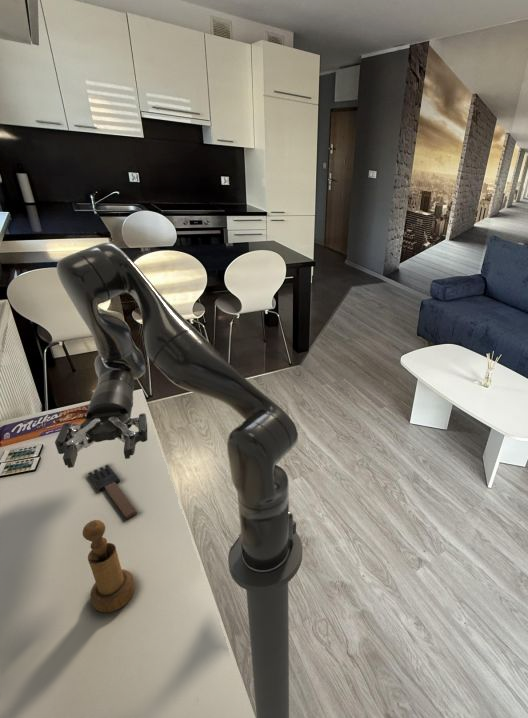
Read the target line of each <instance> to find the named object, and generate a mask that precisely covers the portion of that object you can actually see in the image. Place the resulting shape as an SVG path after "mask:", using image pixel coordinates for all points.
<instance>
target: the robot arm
mask: <svg viewBox="0 0 528 718" xmlns="http://www.w3.org/2000/svg"><path fill="white" fill-rule="evenodd" d="M56 272H57V276H58V278H59V281H60V284H61V285H62V287H63V289H64V291H65V293H66V294H67V296H68V297H69V299H70V301H71V303H72V304H73V306H74V307H75V309H76V311H77V312H78V314H79V316H80V318H81V319H82V320H83V322H84V323H85V325H86V326H87V328H88V329H89V332H90V333H91V336H92V338H93V341H94V344H95V347H96V350H97V353H98V354H97V355H96V357H95V359H94V371H95V375H96V377H97V384H96V387H95V390H94V392H93V393H92V396H91V397H90V401H89V405H88V408H87V411H86V415H85V418H84V421H83V422H81V424H77V425H72V422H70V421H69V422H68V421H67V422H65V423H63V425H62V427H61V429H60V431H59V433H58V435H57V437H56V439H55V441H54V444H55V447H56V450H57V454H59V455H63V456H62V460H63V463H64V466H67V468H68V469H71V468H74V467H75V463H76V461H77V457H78V454H79V452H80V451H82V450H83V449H87V448H89V447H90V446H92V445H93V444H94V443H101V442H105V441H115V440H116V439H118V440H119V441H121V442H122V443H124V445H123V454H124V459H125V460H127V459H128V460H129V459H131V456H134V454H135V451H136V445H137V443H139V442H141V443H145V442H147V441H148V440H149V439H148V420H147V415H146V413H143V412H142V413H139V414H138V417H134V418H131V417H132V409H133V407H134V390H135V380H137V379H139V378H141V377H143V375H144V374H145V373H146V370H147V363H146V357H144V355H143V353H142V351H141V350H140V349H139V348H138V346H136V344H135V343H134V342H133V336H132V331H131V328H130V326H129V324H128V323H127V322H126V321H125V320H124V318H121V317H120V316H119V315H116V314H115V313H112V312H110V311H107V310H105V309H103V308H101V307H100V306H98V305H100V304H104V303H106V302H108V301H110V300H113V299H115V298H116V297H118V296H121V295H123V294H125V293H127V294H129V295H130V296H132V298H133V299H134V300H135V301H136V303H137V306H138V307H139V311H140V315H141V323H142V325H141V326H142V338H143V346H144V349H145V352H146V355H147V357H148V359H149V361H151V363H153V365H154V366H155V367H156V368H157V369H158V370H159V371H160V372H161V373H162V374H163V375H164V376H165V377H166V378H167V379H168V380H169V381H170V382H171V383H172V384H174V385H175V386H177V387H179V388H181V389H183V390H185V391H188V392H190V393H193V394H196V395H200V396H203V397H206V398H209V399H212V400H216V401H218V402H220V403H223V404H224V405H226V406H228V407H229V408H230V409H232V410H234V412H236V413H237V414H238V415H239V416H240V417H241V418H242V419H244V421H242V422H241V423H240V424H239V425H237V426H236V427H234V428H233V430H231V431H230V433H229V435H228V437H227V441H226V452H227V458H228V464H229V470H230V471H229V472H230V476H231V481H232V484H233V486H234V488H235V490H236V493H237V494H236V495H237V504H238V517H239V528H240V529H239V530H240V534H241V542H242V544H241V548H242V559H243V562H244V564H245V565H246V567H247V568H248V569H250V570H251V571H254V572H257V573H268V572H271V571H274V570H276V569H278V568H279V567H280V566H282V565H283V563H284V562H285V561H286V559H287V557H288V555H289V550H290V549H291V548H292V547H293V535H294V534H295V533H297V522H296V521H295V520H294V514H293V513H292V512H291V511H290V504H289V503H290V500H289V499H290V496H289V494H290V492H289V487H290V486H289V485H290V484H289V483H290V482H289V481H290V480H289V476H288V473H287V471H286V470H285V469H284V468H282V467H281V466H279V465H278V464H279V463H280V461H282V460H283V459H284V457H285V456H287V455H288V454H289V452H290V451H291V450H292V449H294V447H295V446H296V444H297V443H298V440H299V431H298V428H297V426H296V424H295V422H294V421H293V420H292V419H291V417H290V416H289V415H288V414H287V412H286V411H284V410H283V409H282V407H280V406H279V405H278V404H277V403H275V402H274V401H273V400H272V399H271V398H269V397H268V396H267V395H266V394H264V393H263V392H262V391H261V390H260V389H258V387H256V386H255V385H254V384H252V383H251V382H250V381H249V380H247V379H246V377H244V376H243V374H241V373H240V372H239V371H238V370H237V369H236V368H235V367H234V366H233V365H231V363H230V362H228V361H227V360H226V359H225V358H224V357H223V355H221V354H220V352H218V351H217V350H216V348H215V347H214V346H213V345H212V344H211V343H210V341H208V340H207V339H206V338H205V336H203V335H202V334H201V333H200V331H198V330H197V329H196V328H195V327H194V326H193V325H192V324H191V323H190V322H189V321H187V319H186V318H184V316H182V315H181V313H179V312H178V311H177V309H176V308H174V307H173V305H172V304H170V302H168V300H166V298H165V297H164V296H163V295H162V294H161V293H160V292H159V290H158V289H157V288H156V287H155V286H154V285H153V284H152V282H151V281H150V279H148V278H147V276H146V275H145V274H144V273H143V272H142V270H141V269H140V268H139V267H138V266H137V264H136V263H135V262H134V261H133V260H132V259H131V258H130V256H128V254H127V253H126V252H125V251H124V250H122V249H121V248H120V247H118V246H117V245H116V244H114V243H111V242H103V243H99V244H96V245H93V246H90V247H87V248H85V249H82V250H80V251H77V252H75V253H71V254H69V255H67V256H65V257H63V258H61V259H60V260H58V261H57V263H56ZM132 426H135V427H136V428H137V429H138V431H136V432H135V431H134V430H132V429H131V428H132Z"/></svg>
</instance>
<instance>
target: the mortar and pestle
mask: <svg viewBox="0 0 528 718" xmlns="http://www.w3.org/2000/svg"><path fill="white" fill-rule="evenodd" d="M105 531H106V525H105V523H104V522H103V521H102V520H100V519H93V520H90V521H89V522H87V523H86V524H84V526H83V529H82V537H83V538H84V540H86V541H88V542H91V543H90V549H91V550H90V551H89V553H88V555H87V562H88V564H89V566H90V570H91V572H92V575H93V579H94V584H93V586H92V588H91V590H90V601H91V603H92V606H93V608H94V609H95V610H96V611H98V612H99V613H112V612H116V611H117V610H120V609H122V608H123V607H124V606H125V605H126V604H128V603H129V602H130V600H131V599H132V598H133V597H134V594H135V592H136V584H135V581H134V577H133V574H132V573H131V571H129V570H127V569H122V566H121V563H120V557H119V555H118V551H117V547H116V546H115V544H114V543H112V542H108V539H107V538H106V537H103V536H104V535H105Z"/></svg>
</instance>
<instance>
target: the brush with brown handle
mask: <svg viewBox="0 0 528 718" xmlns="http://www.w3.org/2000/svg"><path fill="white" fill-rule="evenodd" d="M87 474H88V477H89V478H90V480H91V481H92V482H93V484H94V486H95V487H96V489H97V490H98V491H99V492H102V491H104V490H105V491H106V493H107V494H108V495H109V497H110V498H111V499H112V501H113V502H114V504H115V505H116V507H117V508H118V509H119V511H120V512H121V514H122V515H123V516H124V518H125V519H126V520H128V519H131V518H132V517H133V516H135V515H137V514H138V511H137V509H136V508H135V507H134V505H133V504H132V503H131V501H130V500H129V499H128V498H127V496H126V495H125V493H124V492H123V491H122V490H121V489H120V487H119V486H118V483H120V482H121V480H120V479H121V478H119V477H118V475H117V474H116V473H115V472H114V470H113V469H112V468H111V467H110V465H109V464H105V465H104V467H103V466H101V467H99V470H98V469H97V468H96V469H94V470H93V472H92V471H89V472H88V473H87Z"/></svg>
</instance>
